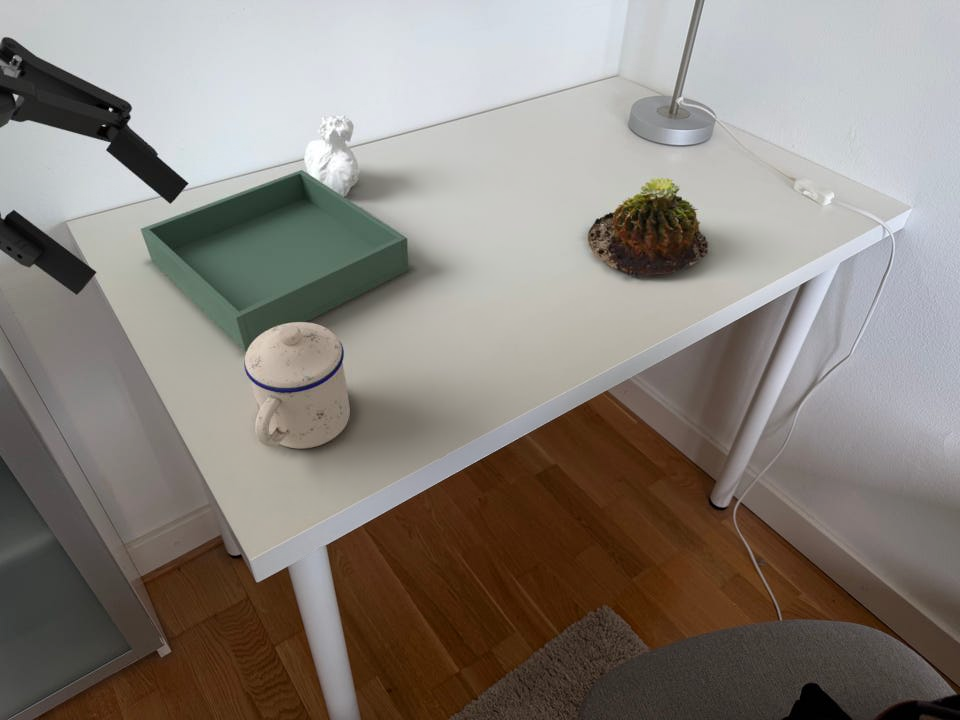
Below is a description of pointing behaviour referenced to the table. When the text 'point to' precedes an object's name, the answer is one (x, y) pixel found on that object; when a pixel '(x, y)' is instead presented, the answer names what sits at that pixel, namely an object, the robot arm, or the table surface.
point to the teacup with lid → (298, 385)
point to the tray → (275, 254)
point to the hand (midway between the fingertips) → (137, 235)
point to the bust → (333, 155)
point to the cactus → (649, 232)
